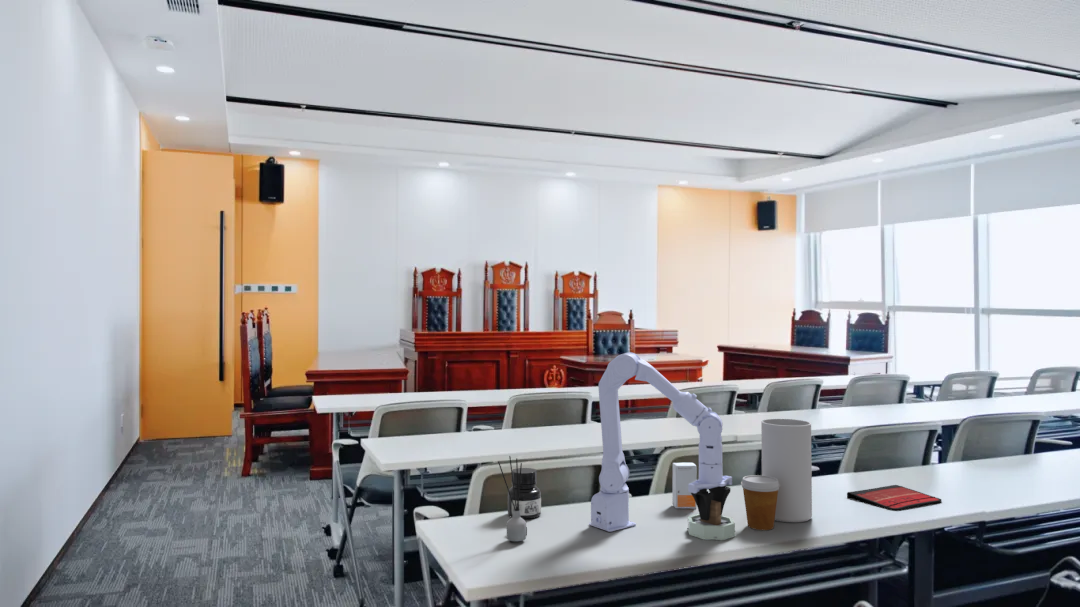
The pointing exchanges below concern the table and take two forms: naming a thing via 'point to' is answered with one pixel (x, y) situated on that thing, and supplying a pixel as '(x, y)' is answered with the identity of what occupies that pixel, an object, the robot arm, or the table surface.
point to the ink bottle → (525, 494)
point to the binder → (893, 497)
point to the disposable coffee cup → (760, 500)
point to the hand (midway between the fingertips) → (710, 517)
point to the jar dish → (711, 528)
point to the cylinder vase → (789, 466)
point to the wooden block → (714, 513)
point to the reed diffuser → (515, 513)
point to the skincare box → (683, 485)
